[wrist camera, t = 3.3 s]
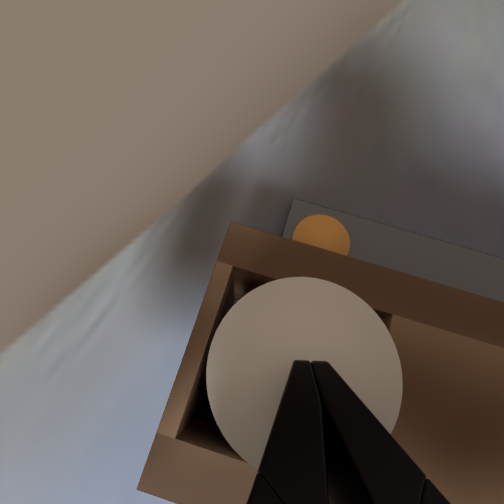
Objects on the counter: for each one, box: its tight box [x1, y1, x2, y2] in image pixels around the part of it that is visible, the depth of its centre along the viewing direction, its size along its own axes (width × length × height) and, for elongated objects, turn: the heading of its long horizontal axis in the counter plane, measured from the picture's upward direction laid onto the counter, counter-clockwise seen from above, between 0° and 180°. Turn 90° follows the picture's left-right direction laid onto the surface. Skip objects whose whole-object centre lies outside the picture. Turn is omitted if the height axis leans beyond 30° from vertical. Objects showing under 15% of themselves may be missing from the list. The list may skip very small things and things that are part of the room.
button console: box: [137, 222, 504, 504], centre depth 15 cm, size 9×21×6 cm, turn 73°
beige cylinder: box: [206, 277, 403, 470], centre depth 12 cm, size 5×5×6 cm
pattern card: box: [282, 199, 504, 302], centre depth 19 cm, size 4×17×1 cm, turn 73°
